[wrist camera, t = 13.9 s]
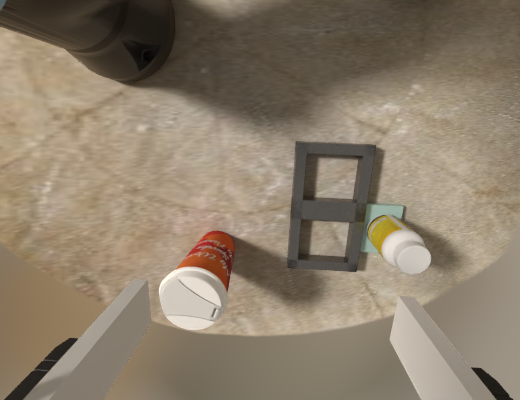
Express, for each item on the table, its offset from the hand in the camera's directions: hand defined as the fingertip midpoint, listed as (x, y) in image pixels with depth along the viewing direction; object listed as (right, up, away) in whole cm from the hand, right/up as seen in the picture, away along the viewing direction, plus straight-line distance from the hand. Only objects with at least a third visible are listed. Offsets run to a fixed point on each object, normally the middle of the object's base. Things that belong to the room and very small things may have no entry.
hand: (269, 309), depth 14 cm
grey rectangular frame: (+10, +5, +28) cm, 30 cm away
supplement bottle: (+19, +1, +28) cm, 34 cm away
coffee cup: (-8, -2, +31) cm, 32 cm away
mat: (+19, +1, +28) cm, 34 cm away
